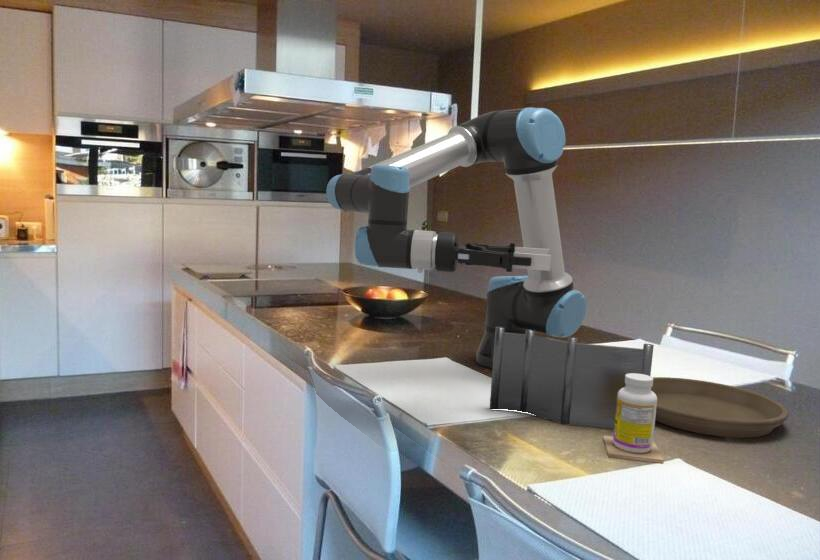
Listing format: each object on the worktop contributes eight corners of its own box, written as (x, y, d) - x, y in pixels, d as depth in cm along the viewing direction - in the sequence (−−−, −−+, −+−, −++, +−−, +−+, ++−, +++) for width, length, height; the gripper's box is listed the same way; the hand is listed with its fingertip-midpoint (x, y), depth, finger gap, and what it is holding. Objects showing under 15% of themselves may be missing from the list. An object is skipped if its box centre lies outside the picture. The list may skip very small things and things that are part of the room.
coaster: (602, 438, 125) (603, 435, 125) (653, 444, 124) (654, 441, 124) (608, 456, 117) (608, 453, 117) (663, 463, 115) (663, 459, 115)
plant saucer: (670, 387, 165) (672, 368, 164) (809, 425, 142) (812, 403, 141) (596, 408, 144) (598, 387, 144) (745, 457, 121) (748, 432, 121)
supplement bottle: (621, 437, 125) (628, 369, 123) (657, 447, 121) (665, 377, 119) (606, 446, 120) (613, 375, 118) (643, 457, 116) (651, 384, 114)
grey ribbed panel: (489, 407, 140) (495, 326, 138) (640, 423, 135) (649, 339, 133) (488, 416, 134) (494, 331, 132) (645, 433, 130) (654, 346, 127)
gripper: (442, 264, 143) (545, 272, 139) (425, 278, 118) (549, 288, 115) (445, 228, 142) (548, 235, 138) (428, 235, 117) (553, 243, 114)
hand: (549, 259), depth 127 cm, fingers open, 13 cm apart
